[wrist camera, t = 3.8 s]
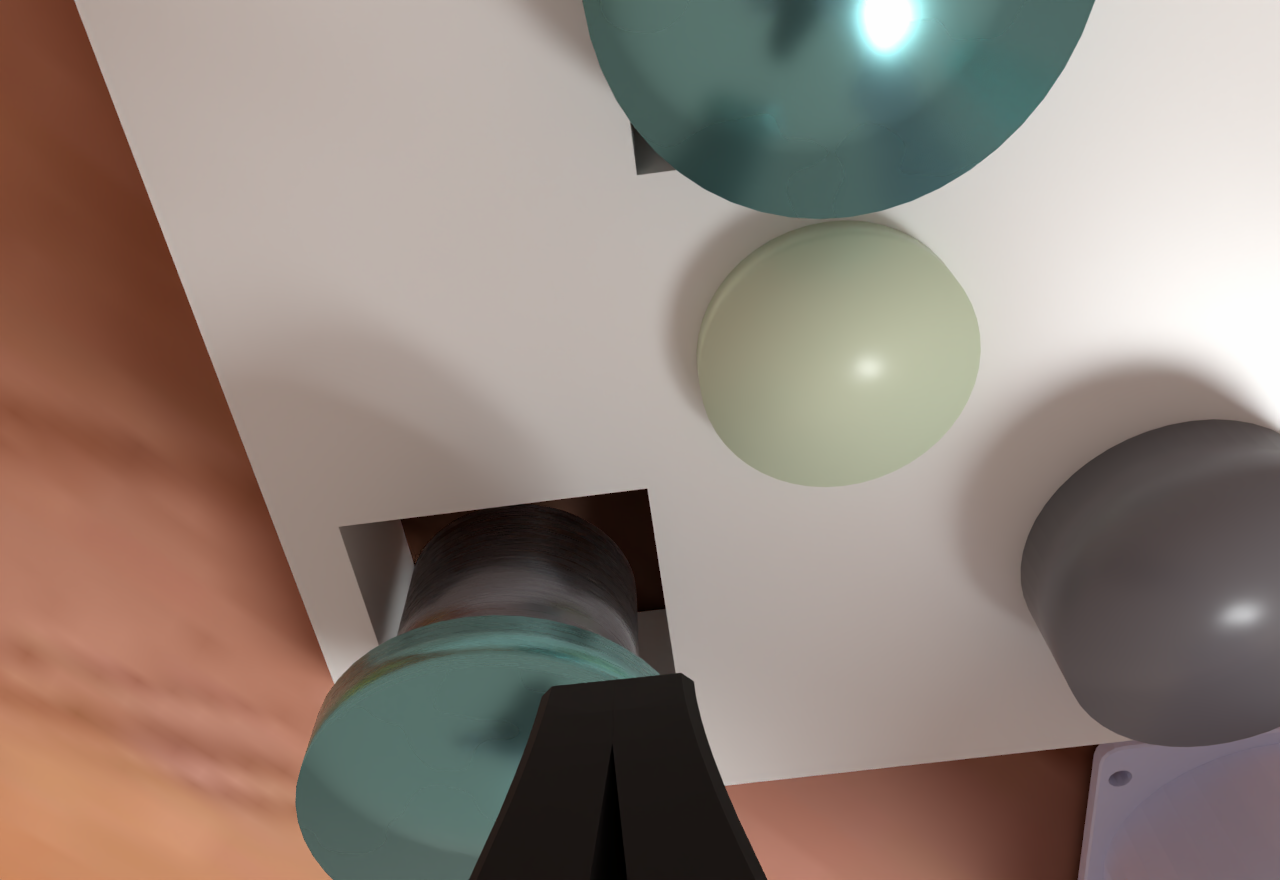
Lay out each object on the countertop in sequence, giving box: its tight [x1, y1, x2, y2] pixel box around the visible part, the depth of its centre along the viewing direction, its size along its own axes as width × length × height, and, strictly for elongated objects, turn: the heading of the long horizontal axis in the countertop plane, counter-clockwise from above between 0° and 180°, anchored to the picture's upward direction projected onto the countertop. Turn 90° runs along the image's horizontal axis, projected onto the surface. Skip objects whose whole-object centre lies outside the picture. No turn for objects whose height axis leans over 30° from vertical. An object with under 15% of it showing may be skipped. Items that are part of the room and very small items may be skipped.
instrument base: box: [74, 0, 1280, 786], centre depth 16 cm, size 18×18×5 cm
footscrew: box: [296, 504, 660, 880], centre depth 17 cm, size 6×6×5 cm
